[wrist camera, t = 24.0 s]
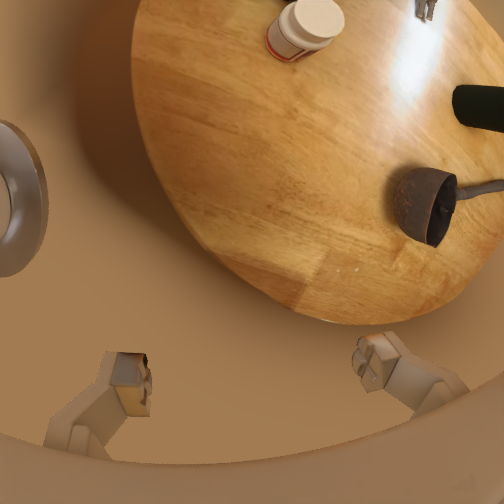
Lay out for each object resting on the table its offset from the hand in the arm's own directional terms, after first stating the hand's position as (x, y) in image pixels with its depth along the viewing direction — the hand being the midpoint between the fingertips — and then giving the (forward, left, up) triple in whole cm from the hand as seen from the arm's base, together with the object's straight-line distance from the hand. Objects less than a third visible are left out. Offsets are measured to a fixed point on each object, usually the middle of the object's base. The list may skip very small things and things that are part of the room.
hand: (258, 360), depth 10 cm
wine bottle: (+43, +19, -29) cm, 55 cm away
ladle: (+43, +3, -29) cm, 52 cm away
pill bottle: (+8, +20, -29) cm, 36 cm away
